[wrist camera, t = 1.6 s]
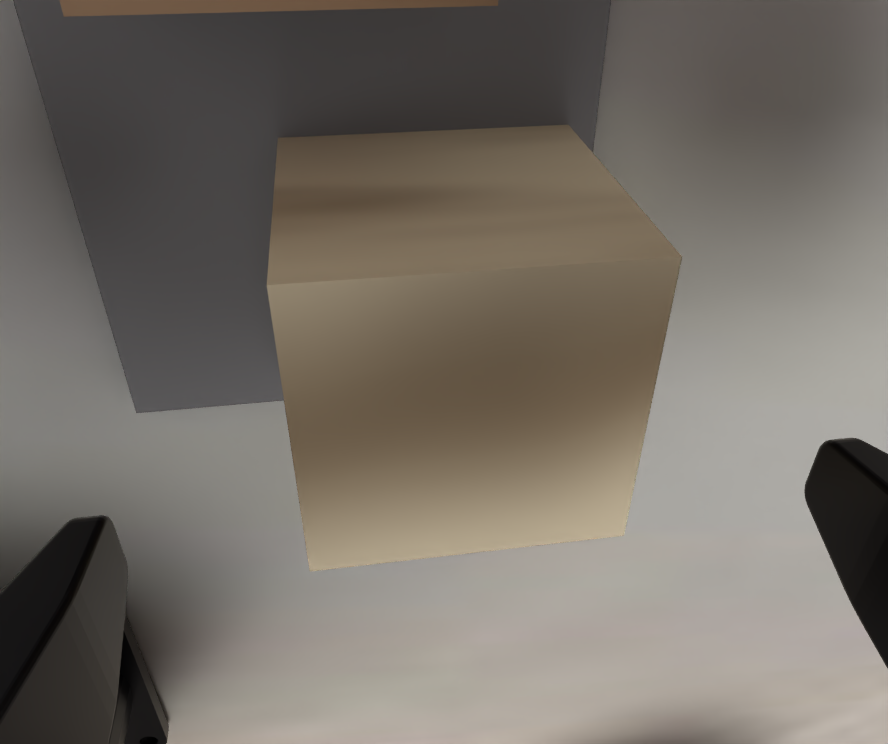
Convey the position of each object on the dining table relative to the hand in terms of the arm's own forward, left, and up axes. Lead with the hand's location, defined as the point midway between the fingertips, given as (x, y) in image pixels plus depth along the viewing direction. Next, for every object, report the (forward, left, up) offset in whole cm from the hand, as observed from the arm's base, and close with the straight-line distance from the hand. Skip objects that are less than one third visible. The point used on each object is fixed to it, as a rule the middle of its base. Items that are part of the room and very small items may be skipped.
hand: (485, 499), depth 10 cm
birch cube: (0, 0, -6) cm, 6 cm away
